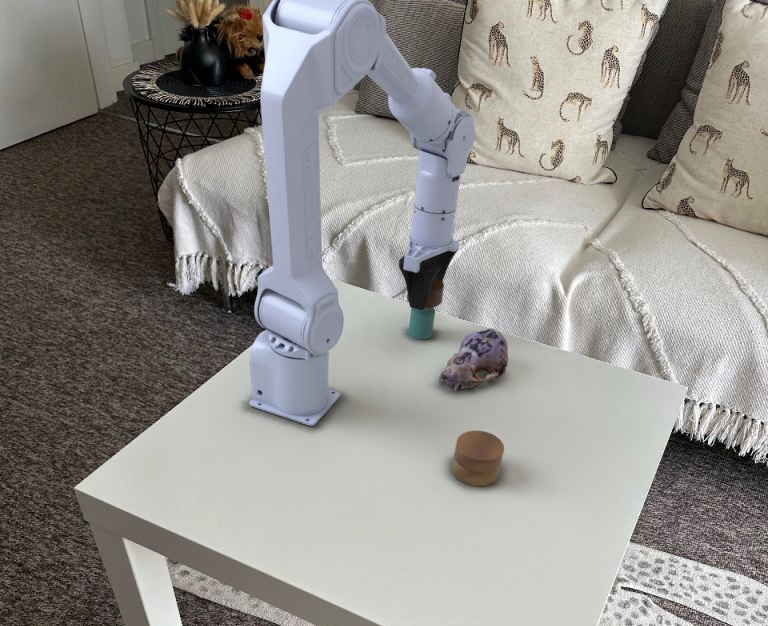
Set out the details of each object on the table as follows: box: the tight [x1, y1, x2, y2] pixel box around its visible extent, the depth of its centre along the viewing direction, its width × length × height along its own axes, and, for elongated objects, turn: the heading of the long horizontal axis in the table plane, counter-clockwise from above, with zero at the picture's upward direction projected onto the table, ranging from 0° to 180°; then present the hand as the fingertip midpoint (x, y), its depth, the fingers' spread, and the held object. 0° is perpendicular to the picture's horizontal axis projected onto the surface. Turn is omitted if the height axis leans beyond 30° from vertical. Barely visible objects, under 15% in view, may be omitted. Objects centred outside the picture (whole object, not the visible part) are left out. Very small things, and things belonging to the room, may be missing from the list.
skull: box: [438, 328, 509, 392], centre depth 99 cm, size 12×8×6 cm, turn 129°
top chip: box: [453, 430, 505, 473], centre depth 83 cm, size 6×6×2 cm
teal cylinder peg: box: [408, 307, 436, 341], centre depth 107 cm, size 4×4×4 cm
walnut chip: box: [406, 278, 445, 308], centre depth 103 cm, size 5×5×2 cm
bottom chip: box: [451, 456, 501, 487], centre depth 85 cm, size 6×6×2 cm
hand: (424, 300), depth 104 cm, fingers closed on walnut chip, 5 cm apart
